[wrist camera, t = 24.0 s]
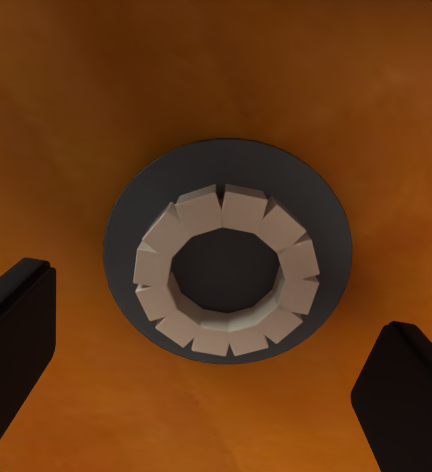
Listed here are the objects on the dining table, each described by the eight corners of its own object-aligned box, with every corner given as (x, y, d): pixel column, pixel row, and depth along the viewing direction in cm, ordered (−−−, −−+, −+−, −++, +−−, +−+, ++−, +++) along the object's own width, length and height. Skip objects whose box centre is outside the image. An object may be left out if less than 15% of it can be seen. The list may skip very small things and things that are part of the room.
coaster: (215, 74, 12) (215, 72, 12) (399, 254, 15) (405, 258, 14) (60, 271, 15) (55, 275, 15) (233, 390, 18) (234, 398, 17)
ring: (218, 145, 13) (217, 150, 11) (344, 261, 14) (357, 277, 13) (109, 273, 15) (98, 289, 13) (231, 360, 16) (231, 382, 15)
